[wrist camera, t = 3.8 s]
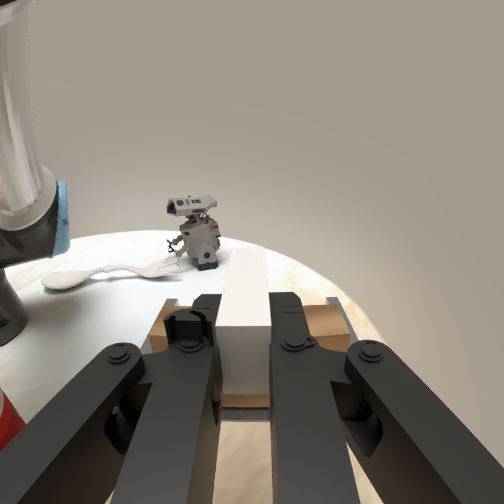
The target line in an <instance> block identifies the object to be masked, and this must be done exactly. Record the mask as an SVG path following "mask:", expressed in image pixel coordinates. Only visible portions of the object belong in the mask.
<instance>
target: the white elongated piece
mask: <svg viewBox="0 0 504 504" xmlns="http://www.w3.org/2000/svg"><path fill="white" fill-rule="evenodd" d="M177 262H178V257H177V256H176V254H173V255H171V256H169V257H168V258H166V259H164V260H162V261H160V262H157V263H155V264H152V265H150V266H148V267H146V268H136V267H132V266H128V265H113V266H112V265H107V266H105V267H100V268H96V269H94V270H91V271H67V272H56V273H51V274H48V275H46V276H45V277H44V278H43V279H42V285H43V286H44V287H46V288H50V289H58V290H61V289H67V288H71V287H73V286H76V285H78V284H79V283H81V282H83V281H84V280H86V279H88V278H89V277H91V276H93V275H95V274H97V273H100V272H105V273H108V272H111V271H118V270H126V271H131V272H134V273H136V274H139V275H141V276H144V277H148V278H155V277H160V276H166V275H171V274H175V273H178V272H180V271H181V269H180V268H179V266H177V265H178V264H176V263H177Z"/></svg>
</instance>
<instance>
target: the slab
mask: <svg viewBox="0 0 504 504" xmlns="http://www.w3.org/2000/svg"><path fill="white" fill-rule="evenodd" d="M191 307H192V306H163V308H162V310H161V312H160V314H159V315H158V317H157V319H156V321H155V323H154V325H153V327H152V329H151V331H150V332H149V334H148V336H149V340H150V344H151V347H152V351H153V353H157V352H161V351H164V350H166V349H167V346H168V340H167V336H166V331H165V326H164V321H163V319H164V318H165V317H166V316H167V315H168V314H170V313H172V312H174V311H177V310H180V309H186V308H191ZM302 307H303V310H304V313H305V317H306V320H307V324H308V327H309V331H310V335H312V336H313V337H315V338H316V340H317V341H318V343H319V346H321V347H323V348H326V349H329V350H333V351H340V352H347V350H348V345H349V340H350V335H351V333H350V331H349V329H348V327H347V325H346V322H345V320H344V318H343V316H342V314H341V312H340V310H339V308H338V306H337V304H332V305H309V306H302ZM221 399H222V406H223V407H270V394H223V387H222V393H221Z"/></svg>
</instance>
